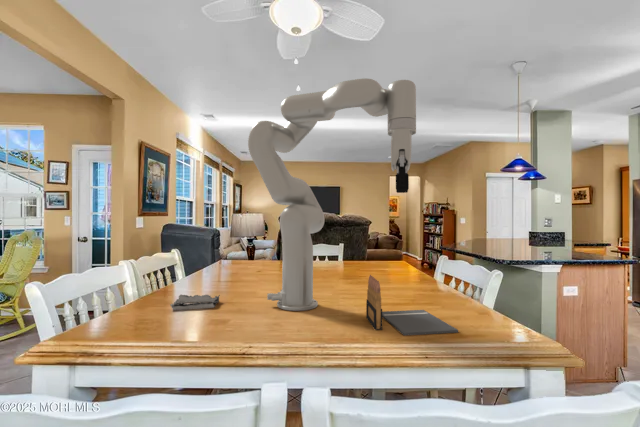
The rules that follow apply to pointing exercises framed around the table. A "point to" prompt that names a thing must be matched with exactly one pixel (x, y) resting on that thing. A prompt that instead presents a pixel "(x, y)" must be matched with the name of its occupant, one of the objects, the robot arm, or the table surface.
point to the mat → (417, 322)
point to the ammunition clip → (374, 304)
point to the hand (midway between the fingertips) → (402, 191)
